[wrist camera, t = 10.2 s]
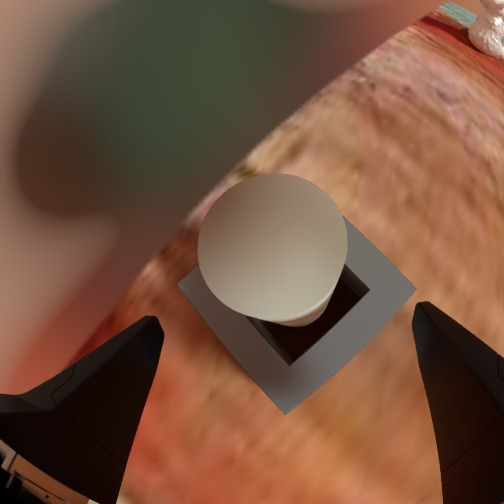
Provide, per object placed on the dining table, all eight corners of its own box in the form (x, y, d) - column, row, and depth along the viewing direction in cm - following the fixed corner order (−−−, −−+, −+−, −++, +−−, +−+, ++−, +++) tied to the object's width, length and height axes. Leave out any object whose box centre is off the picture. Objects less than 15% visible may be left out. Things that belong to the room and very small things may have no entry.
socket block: (291, 399, 17) (285, 414, 13) (201, 293, 21) (176, 284, 17) (398, 298, 17) (417, 289, 14) (300, 203, 21) (296, 175, 17)
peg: (312, 336, 18) (309, 345, 6) (259, 313, 19) (173, 278, 8) (336, 283, 19) (367, 201, 7) (284, 261, 20) (237, 159, 8)
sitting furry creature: (516, 66, 20) (534, 15, 8) (495, 68, 20) (516, 9, 9) (476, 32, 23) (487, -18, 12) (451, 32, 24) (461, -25, 12)
